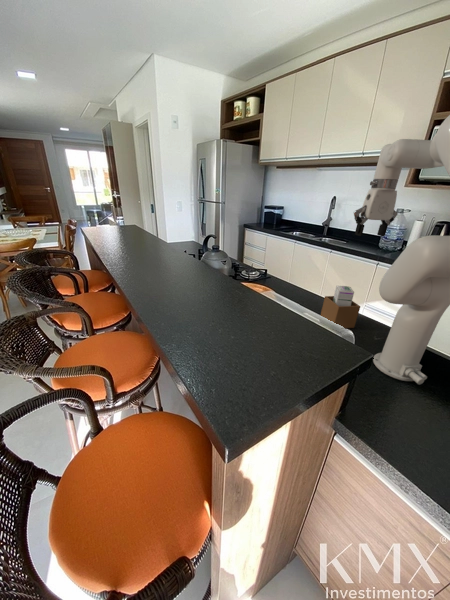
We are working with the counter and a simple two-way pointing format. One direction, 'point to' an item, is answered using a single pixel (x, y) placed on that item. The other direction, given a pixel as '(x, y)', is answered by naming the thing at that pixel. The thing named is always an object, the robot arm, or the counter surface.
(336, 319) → the brown open bin
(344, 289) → the syrup box
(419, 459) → the counter surface
